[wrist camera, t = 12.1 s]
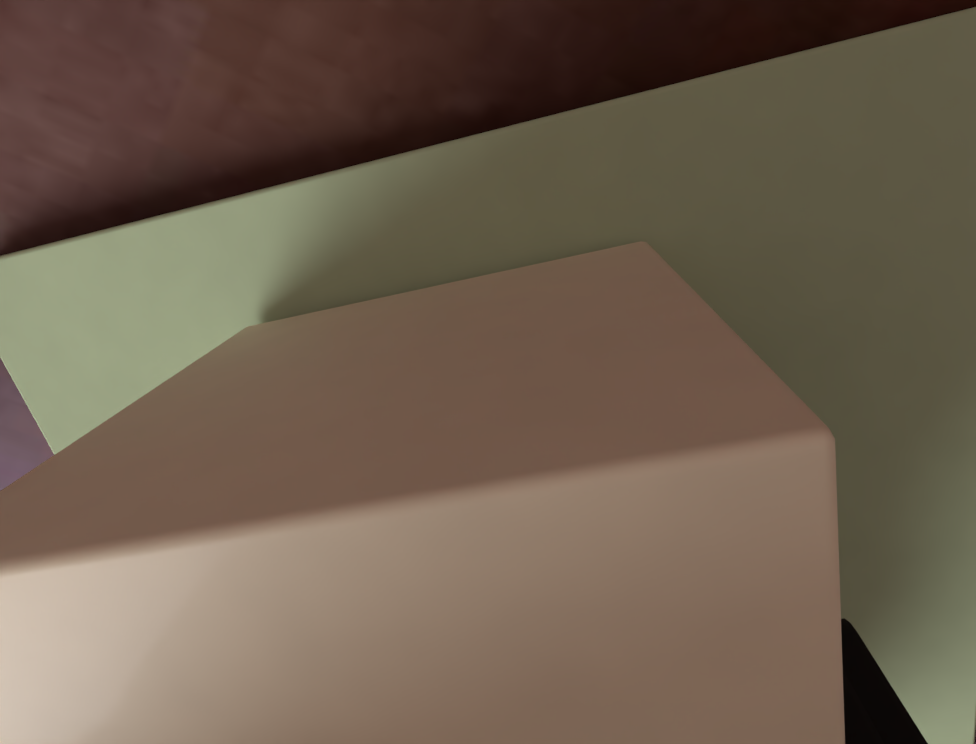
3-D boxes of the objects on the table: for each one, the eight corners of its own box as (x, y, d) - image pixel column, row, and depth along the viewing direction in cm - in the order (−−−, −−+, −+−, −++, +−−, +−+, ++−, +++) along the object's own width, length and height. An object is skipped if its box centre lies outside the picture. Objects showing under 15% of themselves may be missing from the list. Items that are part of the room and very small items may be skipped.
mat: (946, 797, 14) (969, 835, 13) (296, 839, 16) (285, 873, 15) (988, 4, 8) (1033, -9, 7) (-11, 259, 11) (-52, 269, 10)
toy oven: (668, 234, 9) (906, 419, 3) (738, 793, 13) (893, 1304, 7) (244, 325, 10) (-158, 589, 4) (437, 814, 14) (368, 1276, 8)
